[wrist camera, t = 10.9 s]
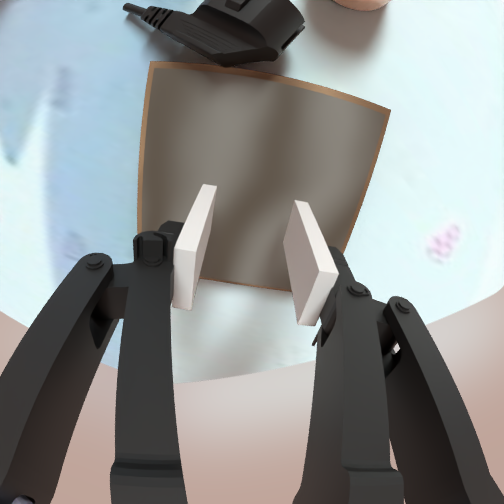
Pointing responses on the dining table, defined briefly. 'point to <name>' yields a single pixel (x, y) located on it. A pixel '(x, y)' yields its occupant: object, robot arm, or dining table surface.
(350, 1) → the peach rounded cylinder
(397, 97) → the dining table surface
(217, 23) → the power plug
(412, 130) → the dining table surface
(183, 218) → the stand
